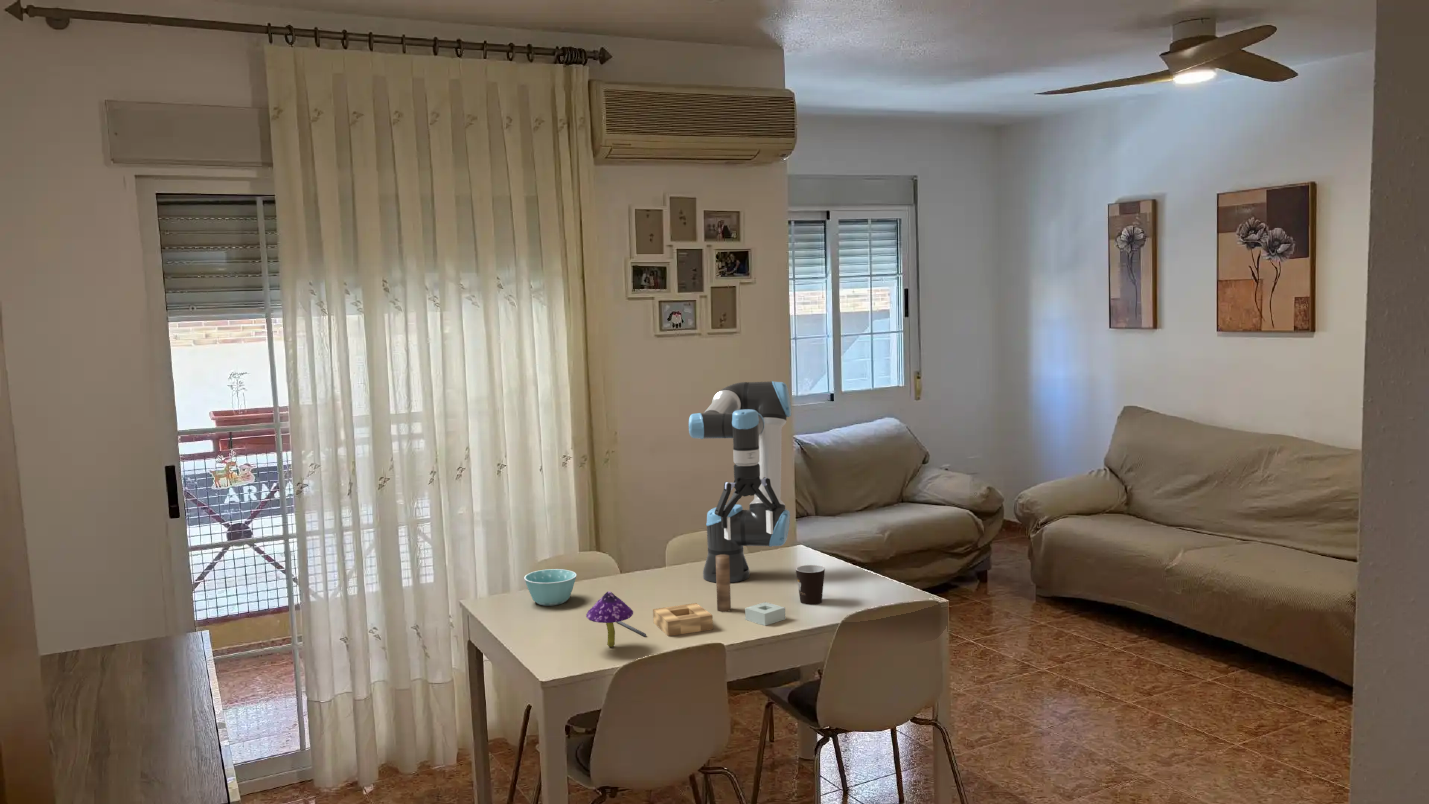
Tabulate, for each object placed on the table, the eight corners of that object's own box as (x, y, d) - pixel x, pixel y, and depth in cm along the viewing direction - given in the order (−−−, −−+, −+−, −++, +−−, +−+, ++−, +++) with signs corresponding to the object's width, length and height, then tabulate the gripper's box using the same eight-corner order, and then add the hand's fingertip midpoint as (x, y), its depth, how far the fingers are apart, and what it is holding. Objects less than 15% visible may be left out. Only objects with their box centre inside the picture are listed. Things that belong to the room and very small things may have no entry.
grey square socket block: (745, 619, 303) (745, 608, 302) (765, 613, 308) (765, 601, 307) (765, 625, 297) (764, 613, 296) (785, 619, 302) (785, 607, 301)
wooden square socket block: (653, 622, 302) (653, 609, 302) (696, 616, 307) (696, 602, 307) (668, 636, 290) (667, 621, 290) (712, 629, 295) (712, 615, 294)
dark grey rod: (615, 622, 304) (615, 619, 304) (617, 621, 305) (617, 618, 304) (644, 637, 290) (644, 634, 290) (646, 636, 291) (646, 633, 290)
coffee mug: (824, 606, 313) (823, 572, 312) (794, 605, 315) (793, 572, 314) (827, 595, 324) (827, 562, 323) (799, 594, 326) (798, 562, 325)
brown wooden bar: (715, 608, 314) (713, 555, 312) (727, 607, 315) (726, 553, 314) (720, 612, 310) (718, 558, 308) (732, 610, 312) (731, 556, 310)
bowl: (587, 597, 330) (586, 571, 330) (559, 611, 316) (558, 584, 315) (544, 592, 337) (543, 567, 336) (515, 606, 323) (514, 579, 322)
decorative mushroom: (579, 652, 279) (576, 596, 278) (600, 637, 291) (598, 583, 289) (622, 656, 275) (619, 600, 273) (642, 641, 287) (640, 586, 285)
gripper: (712, 469, 298) (714, 544, 301) (791, 461, 309) (793, 533, 311) (701, 466, 305) (704, 538, 308) (779, 457, 315) (781, 528, 318)
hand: (748, 536), depth 309 cm, fingers open, 13 cm apart
